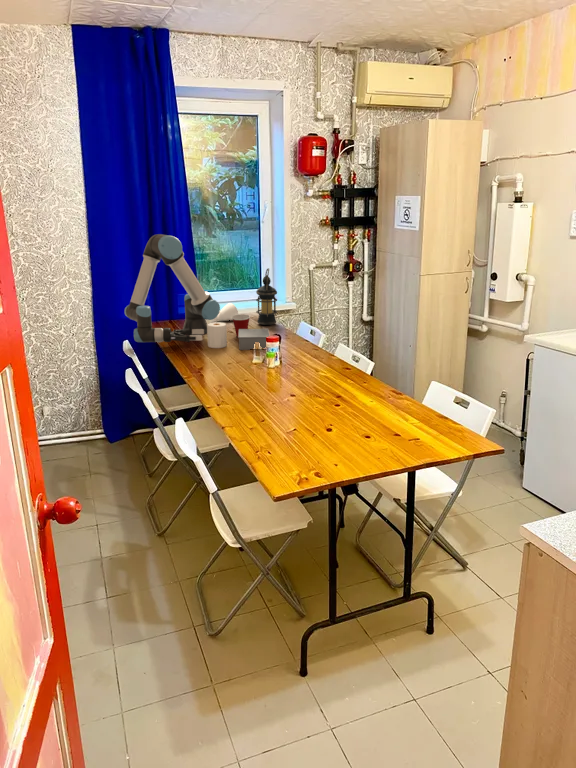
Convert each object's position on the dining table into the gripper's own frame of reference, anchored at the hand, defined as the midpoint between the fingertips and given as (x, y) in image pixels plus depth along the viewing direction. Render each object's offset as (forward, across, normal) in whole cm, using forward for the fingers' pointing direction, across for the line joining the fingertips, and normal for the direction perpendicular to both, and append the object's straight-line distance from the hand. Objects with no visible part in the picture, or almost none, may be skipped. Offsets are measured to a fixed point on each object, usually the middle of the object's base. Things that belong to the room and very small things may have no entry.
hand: (203, 334), depth 324 cm
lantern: (+36, -51, -7) cm, 63 cm away
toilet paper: (+8, 0, -7) cm, 10 cm away
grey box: (+28, -1, -6) cm, 28 cm away
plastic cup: (+20, -21, -7) cm, 30 cm away
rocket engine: (+8, -62, -7) cm, 63 cm away
